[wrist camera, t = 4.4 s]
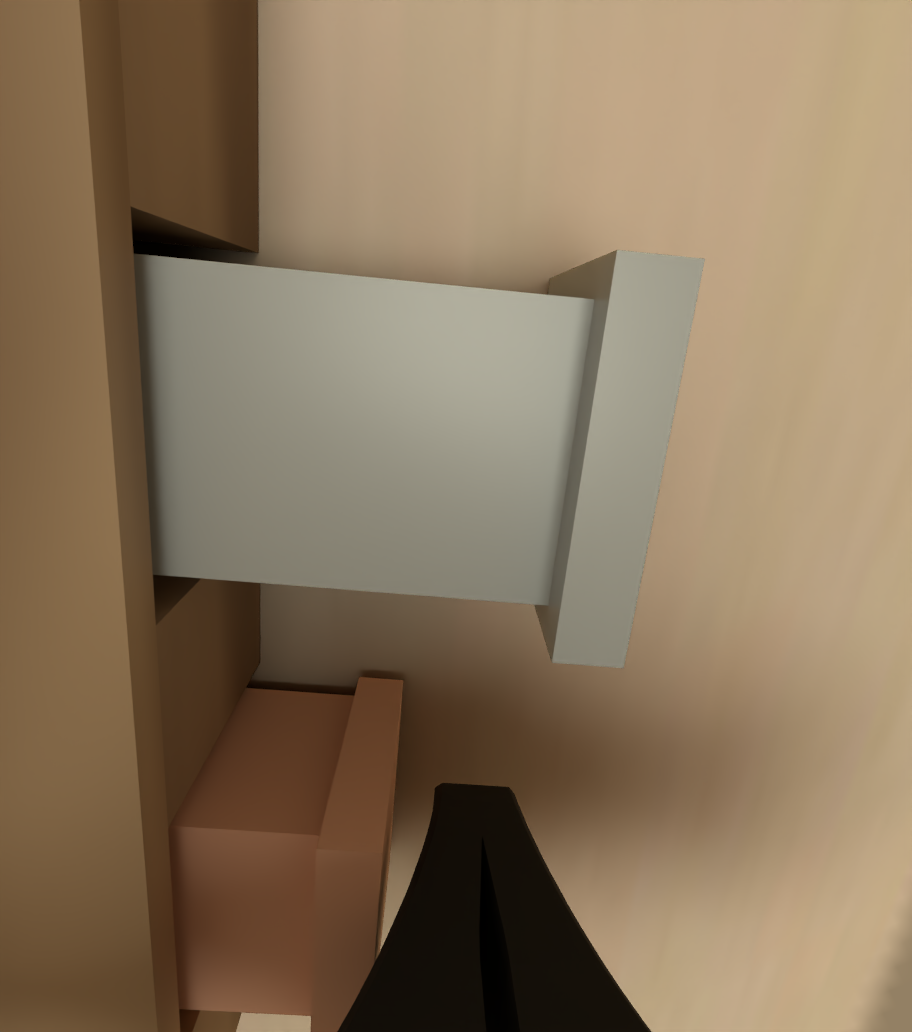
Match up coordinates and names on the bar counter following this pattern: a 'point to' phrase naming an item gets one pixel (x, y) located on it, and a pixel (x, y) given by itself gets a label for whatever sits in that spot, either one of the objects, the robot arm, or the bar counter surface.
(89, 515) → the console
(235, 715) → the flanged terracotta block
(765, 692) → the bar counter surface
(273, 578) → the plunger grey
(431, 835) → the robot arm
